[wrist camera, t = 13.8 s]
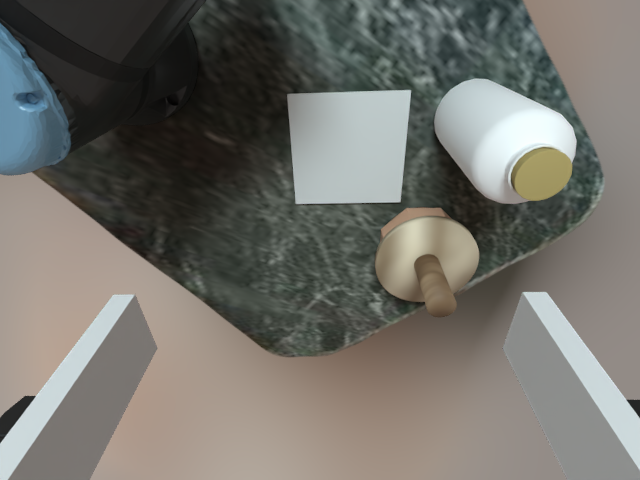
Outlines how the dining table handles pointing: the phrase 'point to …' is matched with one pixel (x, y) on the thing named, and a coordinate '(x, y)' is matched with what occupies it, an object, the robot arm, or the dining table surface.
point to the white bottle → (505, 141)
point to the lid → (427, 261)
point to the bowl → (411, 217)
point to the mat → (348, 145)
